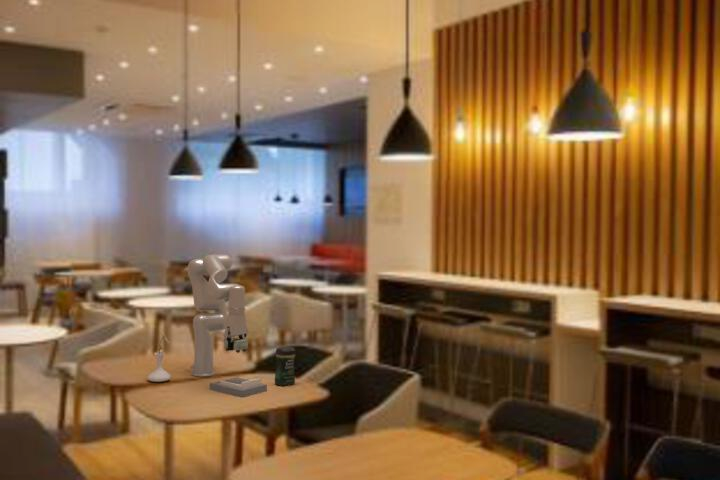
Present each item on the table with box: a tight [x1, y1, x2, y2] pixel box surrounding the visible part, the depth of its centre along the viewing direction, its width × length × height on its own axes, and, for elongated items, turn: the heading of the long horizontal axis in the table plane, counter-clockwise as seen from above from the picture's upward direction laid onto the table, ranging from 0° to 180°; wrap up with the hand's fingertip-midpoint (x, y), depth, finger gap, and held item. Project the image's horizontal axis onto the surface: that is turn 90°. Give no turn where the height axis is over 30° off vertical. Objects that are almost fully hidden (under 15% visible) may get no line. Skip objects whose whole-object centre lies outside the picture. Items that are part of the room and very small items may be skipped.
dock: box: [209, 376, 268, 398], centre depth 346 cm, size 22×16×6 cm
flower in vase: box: [147, 329, 172, 383], centre depth 362 cm, size 13×11×25 cm
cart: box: [223, 337, 249, 354], centre depth 347 cm, size 10×6×7 cm, turn 53°
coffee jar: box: [274, 346, 296, 387], centre depth 360 cm, size 10×8×19 cm
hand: (235, 348), depth 347 cm, fingers closed on cart, 6 cm apart
